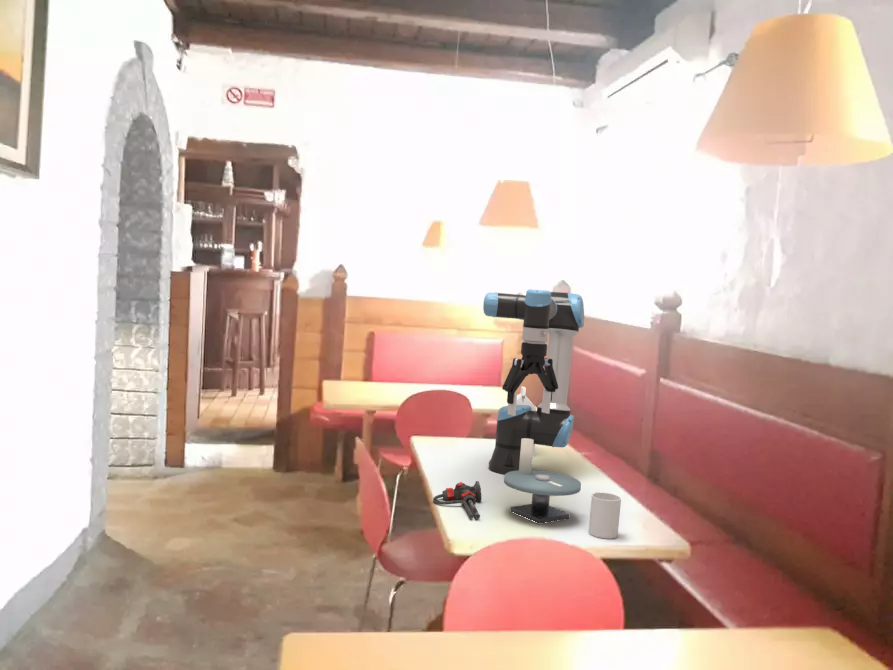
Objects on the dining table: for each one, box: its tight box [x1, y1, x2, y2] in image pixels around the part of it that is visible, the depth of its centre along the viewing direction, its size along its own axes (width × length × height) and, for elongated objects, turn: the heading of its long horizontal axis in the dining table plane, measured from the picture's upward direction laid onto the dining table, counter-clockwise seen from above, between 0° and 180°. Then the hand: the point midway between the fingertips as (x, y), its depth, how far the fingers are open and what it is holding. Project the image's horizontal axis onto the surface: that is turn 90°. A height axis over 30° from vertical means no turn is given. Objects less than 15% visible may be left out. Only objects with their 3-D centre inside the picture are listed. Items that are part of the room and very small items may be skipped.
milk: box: [516, 386, 537, 458], centre depth 307 cm, size 12×12×26 cm
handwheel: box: [503, 438, 582, 497], centre depth 223 cm, size 22×22×12 cm
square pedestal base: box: [509, 494, 570, 524], centre depth 224 cm, size 12×12×9 cm
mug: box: [588, 491, 622, 540], centre depth 213 cm, size 12×8×10 cm, turn 8°
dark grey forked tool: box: [432, 480, 483, 520], centre depth 228 cm, size 6×26×15 cm
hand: (528, 413), depth 229 cm, fingers open, 13 cm apart
